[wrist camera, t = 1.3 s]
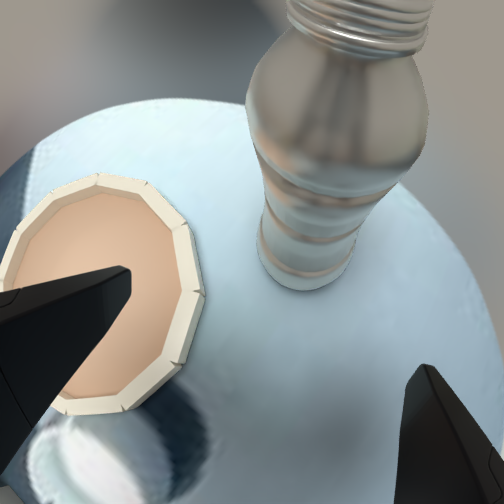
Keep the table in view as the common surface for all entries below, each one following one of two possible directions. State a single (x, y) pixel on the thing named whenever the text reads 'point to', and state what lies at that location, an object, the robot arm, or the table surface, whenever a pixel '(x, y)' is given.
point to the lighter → (9, 496)
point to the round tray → (143, 283)
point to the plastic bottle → (334, 128)
